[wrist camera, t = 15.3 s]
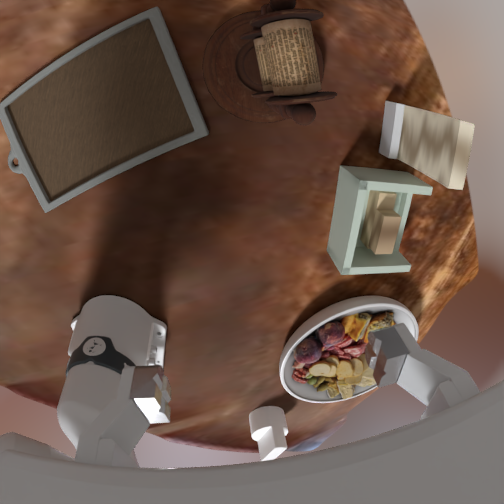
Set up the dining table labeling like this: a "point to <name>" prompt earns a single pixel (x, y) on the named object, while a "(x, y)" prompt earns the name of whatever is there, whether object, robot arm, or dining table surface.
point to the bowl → (338, 349)
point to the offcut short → (384, 231)
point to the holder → (391, 129)
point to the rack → (353, 213)
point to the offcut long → (375, 202)
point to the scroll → (267, 64)
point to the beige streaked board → (436, 145)
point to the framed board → (101, 110)
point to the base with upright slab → (269, 431)
